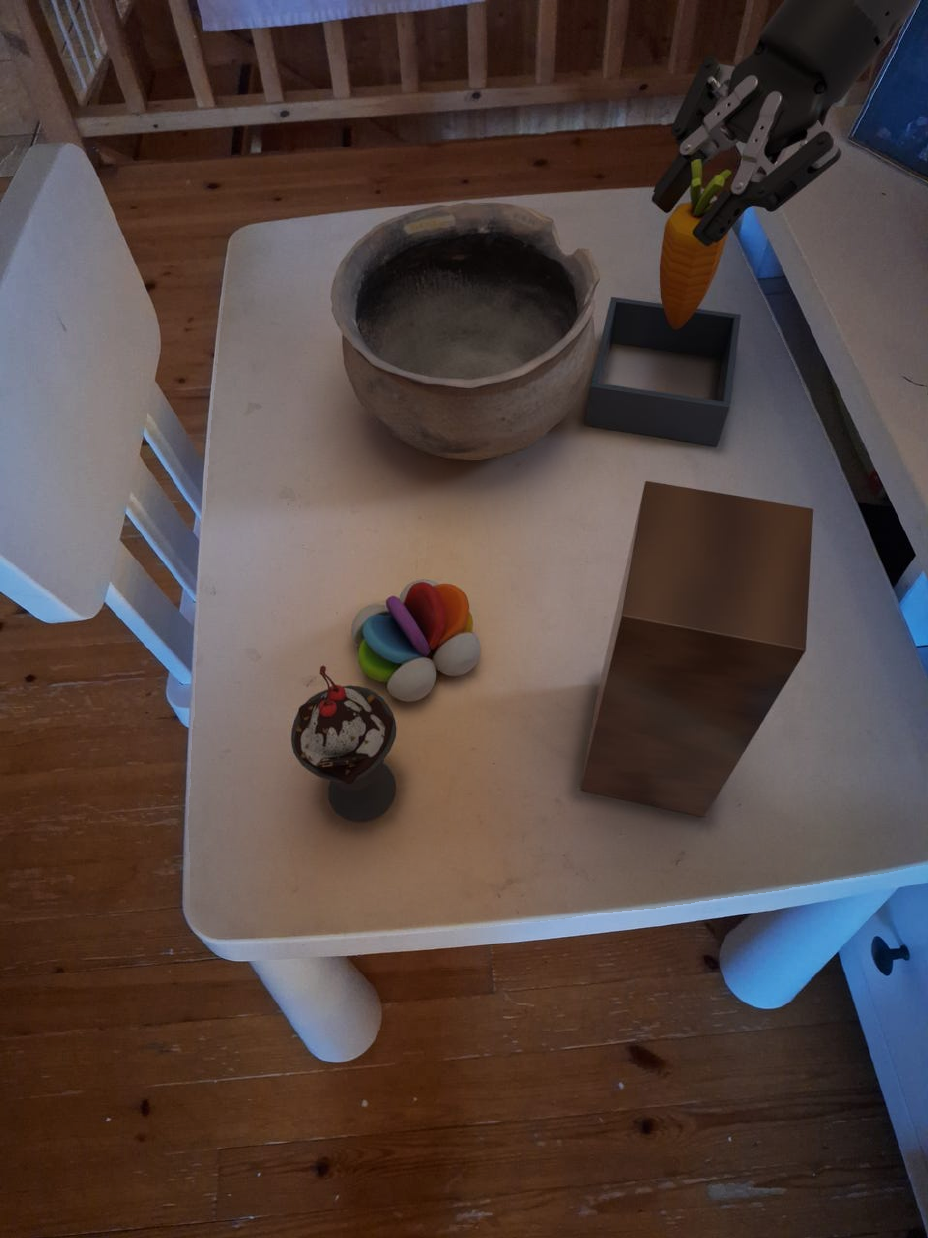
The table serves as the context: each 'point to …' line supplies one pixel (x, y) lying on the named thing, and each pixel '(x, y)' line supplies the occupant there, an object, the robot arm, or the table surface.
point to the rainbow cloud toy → (416, 638)
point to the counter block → (697, 644)
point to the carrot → (689, 252)
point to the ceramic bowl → (466, 327)
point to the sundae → (348, 748)
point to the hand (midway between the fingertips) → (679, 222)
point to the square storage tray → (659, 409)
